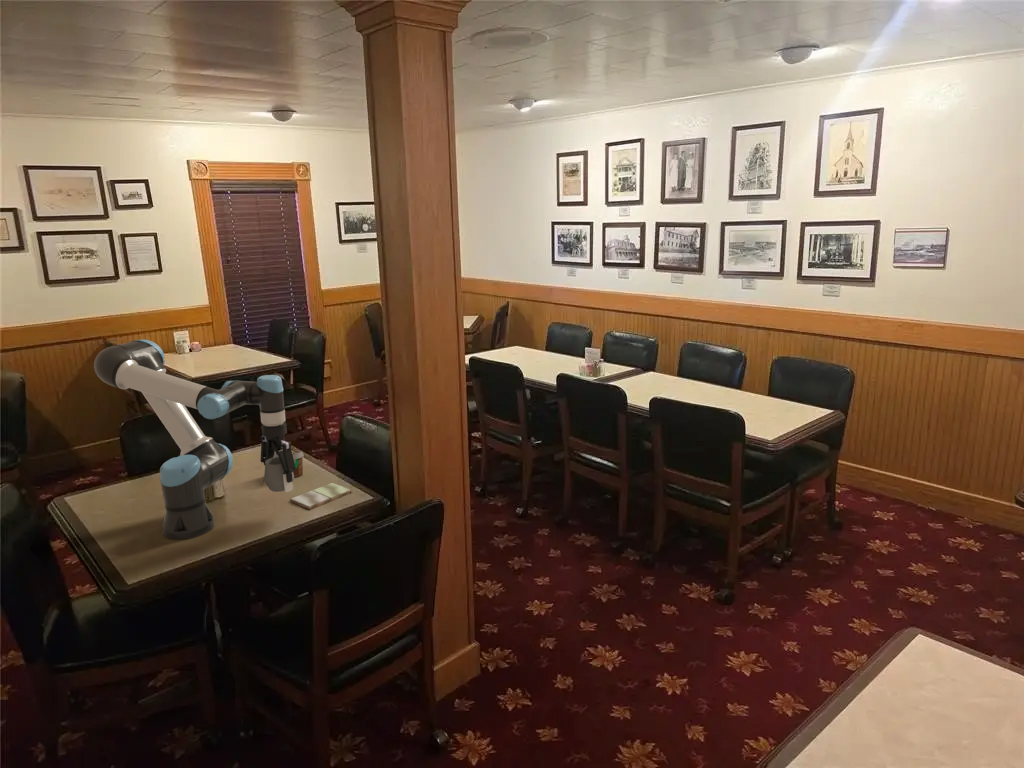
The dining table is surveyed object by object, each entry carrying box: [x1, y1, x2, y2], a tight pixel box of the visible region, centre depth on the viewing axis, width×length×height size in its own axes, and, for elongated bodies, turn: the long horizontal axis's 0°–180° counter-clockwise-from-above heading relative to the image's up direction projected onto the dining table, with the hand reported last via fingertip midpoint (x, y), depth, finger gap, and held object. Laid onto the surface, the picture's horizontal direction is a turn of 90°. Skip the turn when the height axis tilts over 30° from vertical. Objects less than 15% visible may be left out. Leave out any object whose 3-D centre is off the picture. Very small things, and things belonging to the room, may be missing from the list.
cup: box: [263, 457, 295, 493], centre depth 220 cm, size 10×9×10 cm
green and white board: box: [289, 482, 353, 510], centre depth 238 cm, size 18×12×1 cm, turn 142°
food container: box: [273, 451, 305, 479], centre depth 256 cm, size 12×6×10 cm, turn 73°
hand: (280, 487), depth 221 cm, fingers closed on cup, 9 cm apart
